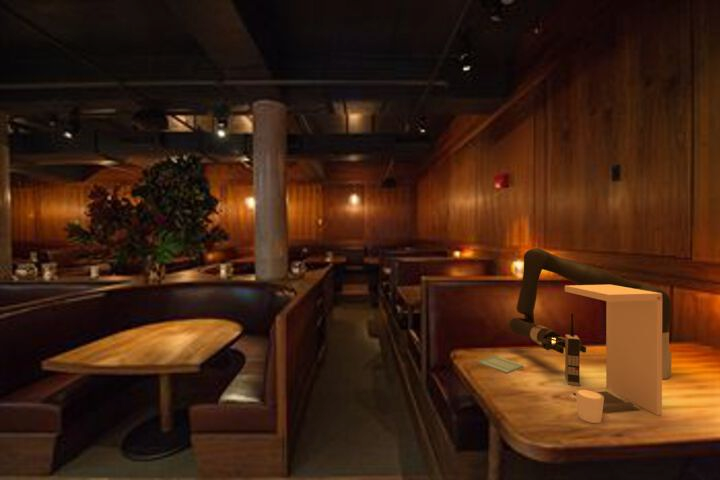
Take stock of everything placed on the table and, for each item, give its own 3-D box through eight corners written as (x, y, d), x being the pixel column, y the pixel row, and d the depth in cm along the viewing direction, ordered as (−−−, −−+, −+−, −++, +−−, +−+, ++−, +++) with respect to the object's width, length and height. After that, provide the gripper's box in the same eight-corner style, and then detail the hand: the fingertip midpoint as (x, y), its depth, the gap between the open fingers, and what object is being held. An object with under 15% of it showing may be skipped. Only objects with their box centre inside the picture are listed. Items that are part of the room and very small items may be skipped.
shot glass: (570, 412, 101) (570, 389, 101) (591, 411, 102) (591, 388, 102) (587, 424, 94) (587, 400, 94) (610, 423, 95) (610, 399, 95)
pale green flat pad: (524, 368, 136) (524, 365, 136) (506, 375, 129) (506, 371, 129) (495, 358, 147) (494, 355, 147) (477, 364, 140) (477, 361, 140)
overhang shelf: (610, 387, 117) (610, 284, 117) (661, 414, 99) (662, 293, 99) (564, 390, 115) (564, 285, 115) (608, 418, 97) (608, 294, 97)
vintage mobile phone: (567, 384, 119) (567, 314, 119) (565, 379, 124) (565, 311, 124) (580, 386, 118) (580, 315, 118) (577, 380, 123) (577, 312, 122)
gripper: (528, 328, 135) (555, 340, 119) (561, 327, 137) (592, 339, 121) (528, 346, 136) (555, 361, 119) (561, 345, 137) (592, 359, 121)
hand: (574, 350), depth 120 cm, fingers open, 8 cm apart
